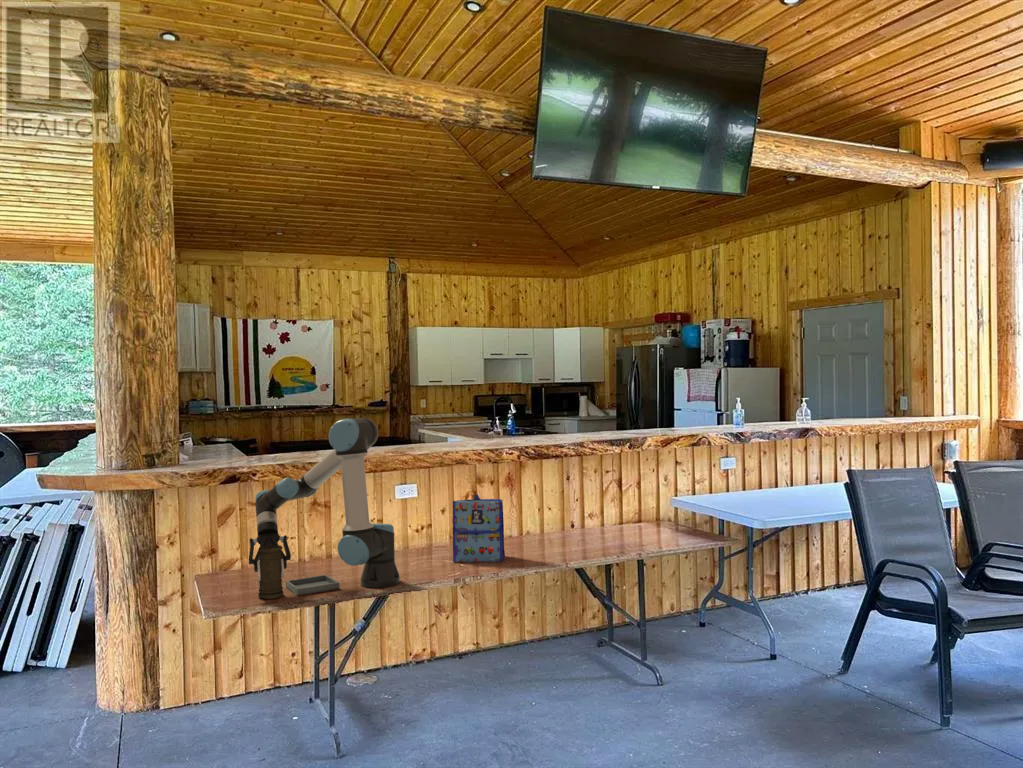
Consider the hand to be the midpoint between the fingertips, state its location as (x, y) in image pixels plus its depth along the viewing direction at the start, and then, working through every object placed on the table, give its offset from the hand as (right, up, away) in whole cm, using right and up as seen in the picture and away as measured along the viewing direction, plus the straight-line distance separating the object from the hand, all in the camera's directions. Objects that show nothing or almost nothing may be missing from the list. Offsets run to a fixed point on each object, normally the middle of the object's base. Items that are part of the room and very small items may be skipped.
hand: (271, 577), depth 274 cm
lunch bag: (+74, -7, +55) cm, 92 cm away
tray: (+12, -8, +13) cm, 19 cm away
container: (-1, -8, +3) cm, 8 cm away
